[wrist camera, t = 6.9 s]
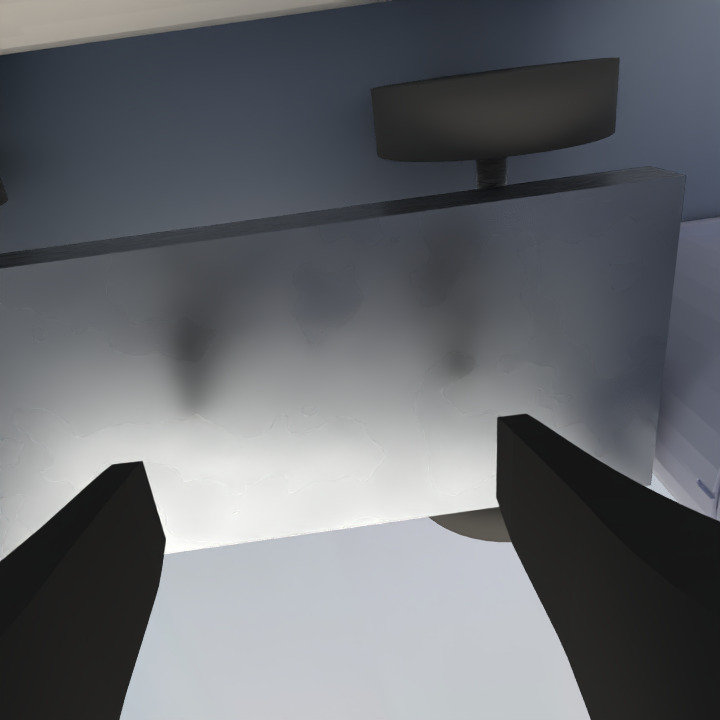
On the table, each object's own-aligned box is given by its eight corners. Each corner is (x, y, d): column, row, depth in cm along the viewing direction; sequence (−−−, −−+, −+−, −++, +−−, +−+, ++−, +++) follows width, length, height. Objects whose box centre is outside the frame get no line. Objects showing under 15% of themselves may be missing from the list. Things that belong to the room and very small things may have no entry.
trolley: (562, 61, 18) (997, 31, 6) (553, 421, 23) (780, 747, 12) (-180, 159, 17) (-1080, 309, 6) (-13, 501, 23) (-330, 911, 12)
